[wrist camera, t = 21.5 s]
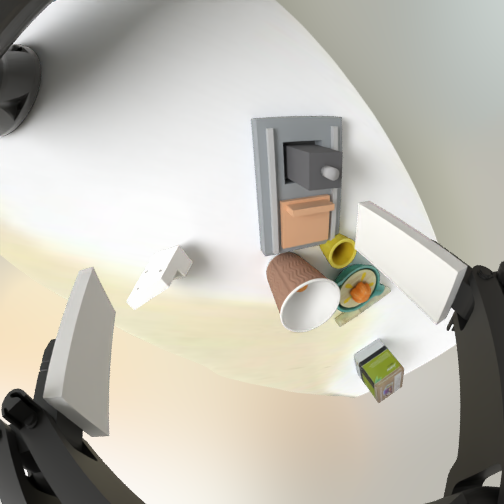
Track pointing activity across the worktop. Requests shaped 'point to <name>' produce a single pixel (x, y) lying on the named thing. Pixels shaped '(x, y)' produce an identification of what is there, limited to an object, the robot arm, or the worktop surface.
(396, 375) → the tea box
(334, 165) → the plug
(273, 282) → the coffee cup
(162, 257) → the white wedge bracket
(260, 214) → the socket board
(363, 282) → the toy juicer set
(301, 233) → the shutter
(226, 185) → the worktop surface
